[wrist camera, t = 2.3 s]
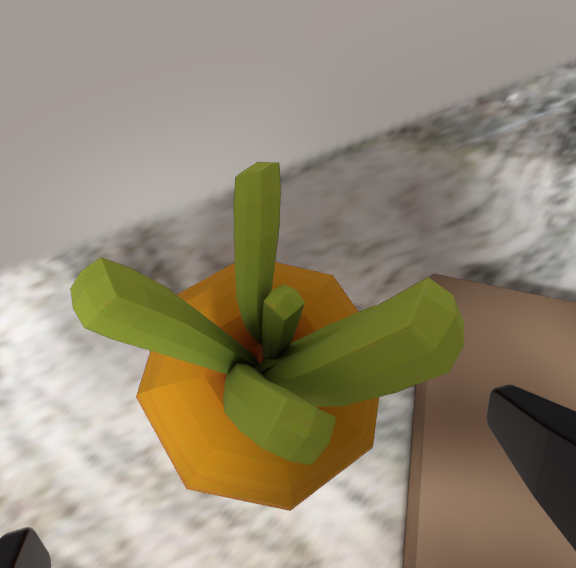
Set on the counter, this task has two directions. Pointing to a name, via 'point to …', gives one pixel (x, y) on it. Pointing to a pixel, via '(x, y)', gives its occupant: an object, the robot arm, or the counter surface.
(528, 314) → the walnut board
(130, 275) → the carrot
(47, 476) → the counter surface
